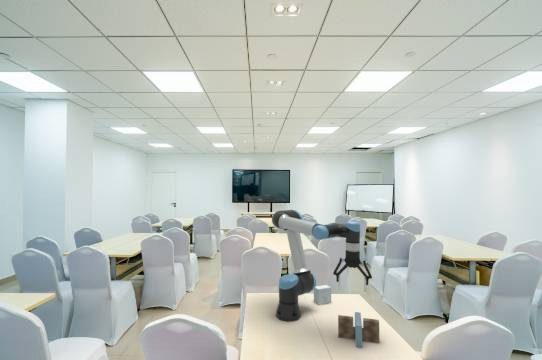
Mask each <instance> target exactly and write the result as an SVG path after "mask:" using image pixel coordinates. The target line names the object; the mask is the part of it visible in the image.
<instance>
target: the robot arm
mask: <svg viewBox="0 0 542 360" xmlns="http://www.w3.org/2000/svg"><path fill="white" fill-rule="evenodd" d="M271 224H272V225H273V226H274V227H275V228H277V229H279V230H280V229H281V230H283V232H284V233H285V234H286V235H287V240H288V245H289V251H290V254H291V255H290V256H291V260H292V265H293V272H292V273H289V274H284V275H282V276H281V277H279V280H278V304H277V307H276V311H275V316H276V318H277V319H278V320H281V321H284V322H294V321H298V320H301V317H302V312H301V308H300V305H299V296H302V295H304V294H309V293H311V292H314V289H315V287H316V286H317V277H316V276H315V275H314V273H312V271H311V269H310V268H309V267H308V264H307V261H306V256H305V250H304V247H303V242H302V236H301V234H304V235H307V236H311V237H314V238H315V239H316V240H318V241H319V240H321V241H322V240H326V239H333V238H343V239H345V253H344V254H345V258H343V257H339V261H338V263H337V265H336V267H335V268H334V270H333V273H332V275H333V276H336V278H335V280H336V283H338V284H337V285H338V289H339V290H340V288H341V274H342V273H343V272H344V271H345V270H346V269H347V268H350V269H351V268H353V269H356V268H357V269H358V270H359V272H361V274H362V275H363V277H364V281H363V282H364V283H363V285H364V286H363V287H364V288H363V290H364V292H367V286H369V279H370V280H372V278H373V276H372V274H371V272H370V270H369V268H368V266H367V261H366V259H360V258H361V254H360V253H361V252H360V250H361V240H360V239H361V223H360V222H359V221H349V220H348V221H346V222H345V224H344V223H337V222H330V223H328V224H321V223H317V222H315V221H314V222H312V221H309V220H305V219H303V215H302V213H301V212H300V211H298V210H296V209H285V210H278V211H275V212H274V213H273V214H272V217H271ZM342 263H345V264H344V265H343V267H341V264H342ZM360 264H362V265H363V267H364V269H365V271H366V272H365V271H364V269H363V268H362V266H361V265H360ZM340 267H341V268H340ZM338 270H339V271H338ZM367 274H368V275H367Z"/></svg>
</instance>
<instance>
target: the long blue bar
mask: <svg viewBox="0 0 542 360" xmlns="http://www.w3.org/2000/svg"><path fill="white" fill-rule="evenodd" d="M354 327H355V339H354V340H355V347H357V348H358V347H359V348H363V341H362V328H363V320H362V313H361V312H360V311H359V312H357V311H354Z"/></svg>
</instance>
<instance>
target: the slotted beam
mask: <svg viewBox="0 0 542 360" xmlns="http://www.w3.org/2000/svg"><path fill="white" fill-rule="evenodd" d="M337 315H338V316H337V324H338V325H337V328H338V329H337V333H338V335H337V336H338V338H343V339H349V340H355V326H354V316H350V315H349V316H348V315H342V314H337ZM363 341H364V342H369V343H376V344H380V320H379V319H374V318H366V317H363V318H362V342H363Z"/></svg>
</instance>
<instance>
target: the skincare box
mask: <svg viewBox="0 0 542 360" xmlns="http://www.w3.org/2000/svg"><path fill="white" fill-rule="evenodd" d="M313 303H315V304H317V305H318V306H321V305H327V304H331V303H332V287H331V286H329V285H327V284H323V285H316V287H315V289H314V290H313Z"/></svg>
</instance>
